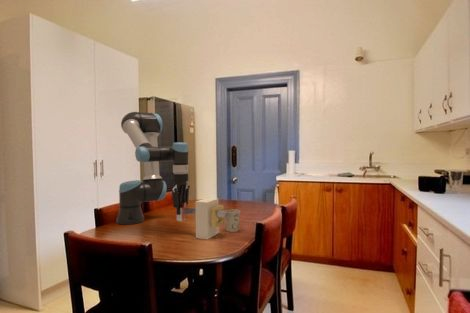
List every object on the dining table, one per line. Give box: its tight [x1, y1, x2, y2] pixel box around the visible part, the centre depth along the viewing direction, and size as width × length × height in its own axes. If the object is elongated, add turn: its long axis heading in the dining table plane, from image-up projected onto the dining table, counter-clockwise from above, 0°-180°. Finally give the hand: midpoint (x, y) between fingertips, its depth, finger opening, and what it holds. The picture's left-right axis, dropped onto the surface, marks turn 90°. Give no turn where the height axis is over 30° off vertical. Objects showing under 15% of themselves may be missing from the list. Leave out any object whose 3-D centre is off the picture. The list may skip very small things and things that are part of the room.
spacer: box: [211, 204, 225, 228], centre depth 139 cm, size 2×9×9 cm, turn 157°
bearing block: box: [195, 197, 220, 240], centre depth 141 cm, size 6×12×17 cm, turn 157°
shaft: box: [175, 202, 227, 220], centre depth 143 cm, size 27×3×8 cm, turn 67°
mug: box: [224, 208, 241, 233], centre depth 152 cm, size 8×13×10 cm, turn 27°
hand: (181, 220), depth 147 cm, fingers closed on shaft, 2 cm apart
